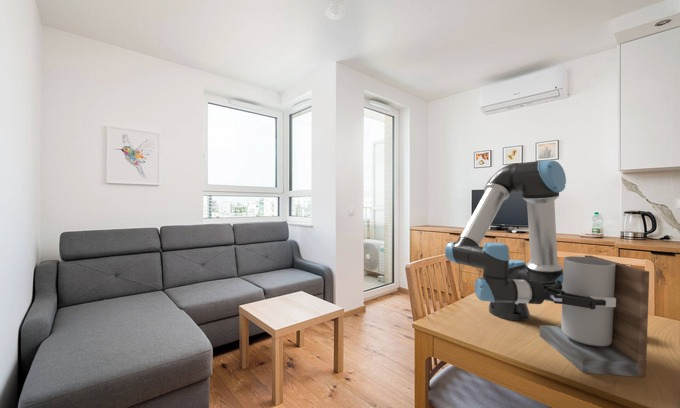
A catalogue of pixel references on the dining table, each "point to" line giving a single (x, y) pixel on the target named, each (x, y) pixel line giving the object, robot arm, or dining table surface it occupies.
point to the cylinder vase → (588, 281)
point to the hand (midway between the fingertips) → (598, 294)
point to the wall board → (627, 330)
